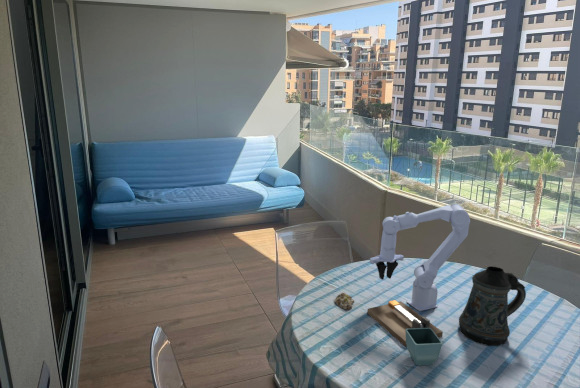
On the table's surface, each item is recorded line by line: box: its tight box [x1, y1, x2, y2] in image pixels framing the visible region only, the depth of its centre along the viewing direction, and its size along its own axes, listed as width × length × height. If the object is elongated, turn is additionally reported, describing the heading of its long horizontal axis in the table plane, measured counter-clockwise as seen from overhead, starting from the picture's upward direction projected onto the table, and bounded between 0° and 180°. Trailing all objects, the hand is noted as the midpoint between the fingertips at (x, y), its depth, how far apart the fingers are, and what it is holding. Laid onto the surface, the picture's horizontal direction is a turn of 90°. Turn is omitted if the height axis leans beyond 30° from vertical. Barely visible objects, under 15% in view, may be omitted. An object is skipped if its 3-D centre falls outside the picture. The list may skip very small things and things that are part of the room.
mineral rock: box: [333, 292, 355, 311], centre depth 160 cm, size 11×4×8 cm
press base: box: [366, 300, 444, 348], centre depth 145 cm, size 16×23×7 cm
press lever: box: [387, 299, 425, 328], centre depth 144 cm, size 3×17×2 cm, turn 23°
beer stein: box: [458, 266, 527, 347], centre depth 139 cm, size 16×19×25 cm
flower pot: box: [405, 328, 443, 366], centre depth 125 cm, size 9×9×9 cm
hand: (385, 278), depth 160 cm, fingers open, 3 cm apart
